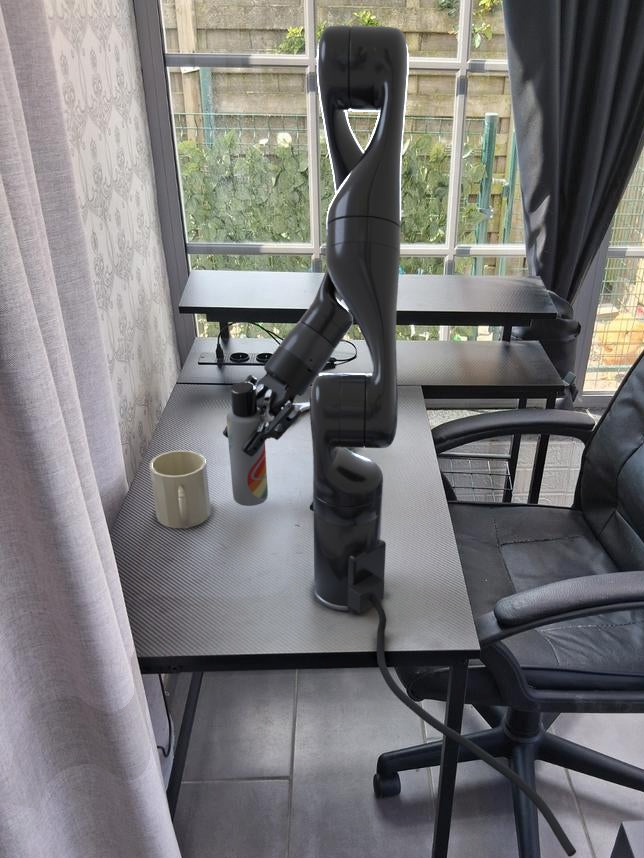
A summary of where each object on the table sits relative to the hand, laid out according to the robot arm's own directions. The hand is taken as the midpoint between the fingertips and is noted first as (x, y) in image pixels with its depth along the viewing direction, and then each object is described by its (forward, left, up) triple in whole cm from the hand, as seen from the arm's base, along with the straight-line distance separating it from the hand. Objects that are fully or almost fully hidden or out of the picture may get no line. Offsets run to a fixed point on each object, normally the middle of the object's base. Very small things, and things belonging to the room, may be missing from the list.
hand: (237, 445), depth 125 cm
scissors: (+22, -35, -12) cm, 43 cm away
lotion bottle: (0, -2, -10) cm, 11 cm away
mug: (+4, +8, -12) cm, 15 cm away
